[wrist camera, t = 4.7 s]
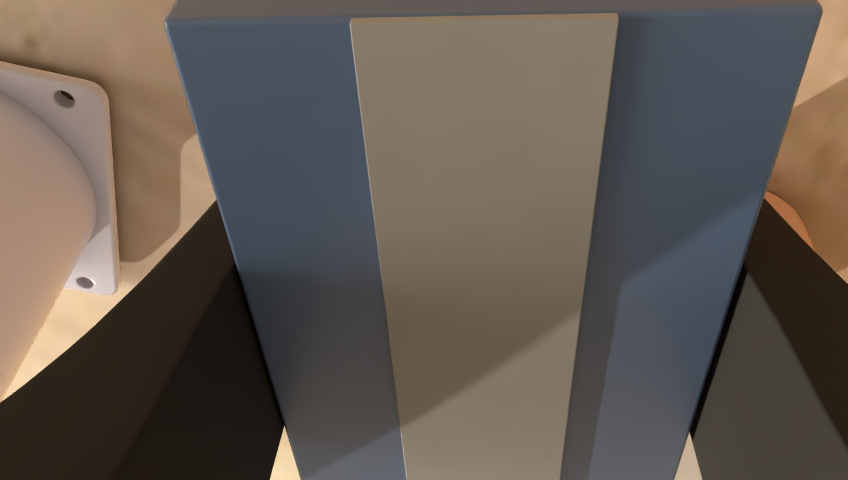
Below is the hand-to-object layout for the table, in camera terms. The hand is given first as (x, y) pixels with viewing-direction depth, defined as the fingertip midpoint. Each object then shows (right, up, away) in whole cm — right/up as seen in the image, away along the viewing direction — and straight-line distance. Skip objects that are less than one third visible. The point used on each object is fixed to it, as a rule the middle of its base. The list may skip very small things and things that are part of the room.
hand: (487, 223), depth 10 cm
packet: (0, +1, +1) cm, 2 cm away
